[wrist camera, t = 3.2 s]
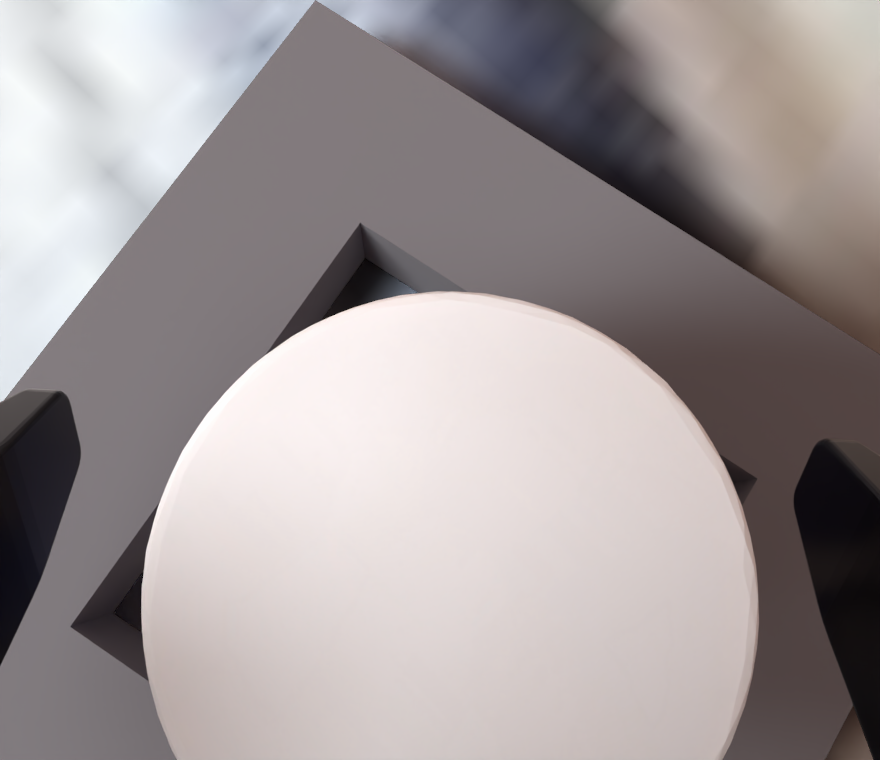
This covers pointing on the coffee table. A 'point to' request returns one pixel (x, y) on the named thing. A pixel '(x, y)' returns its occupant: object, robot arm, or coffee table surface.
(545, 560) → the pill bottle
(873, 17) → the coffee table surface
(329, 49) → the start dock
